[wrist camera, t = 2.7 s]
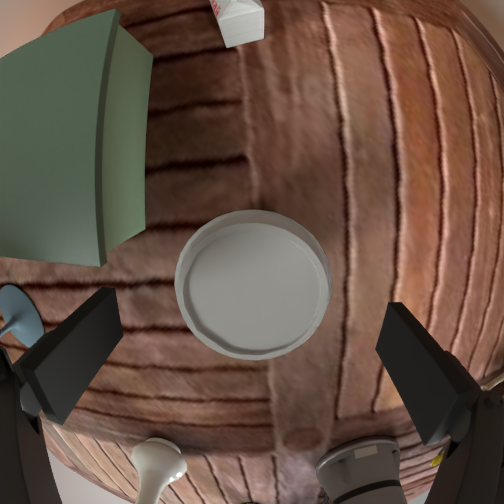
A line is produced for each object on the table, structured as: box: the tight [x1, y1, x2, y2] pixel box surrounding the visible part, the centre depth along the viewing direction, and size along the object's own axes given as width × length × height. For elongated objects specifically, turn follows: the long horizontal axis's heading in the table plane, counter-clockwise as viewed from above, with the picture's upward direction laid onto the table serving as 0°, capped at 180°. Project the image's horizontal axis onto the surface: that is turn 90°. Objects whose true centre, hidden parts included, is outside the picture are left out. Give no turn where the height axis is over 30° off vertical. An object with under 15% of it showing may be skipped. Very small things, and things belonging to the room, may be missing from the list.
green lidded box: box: [0, 8, 153, 267], centre depth 20 cm, size 19×17×10 cm
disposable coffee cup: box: [175, 209, 332, 360], centre depth 21 cm, size 10×10×12 cm
